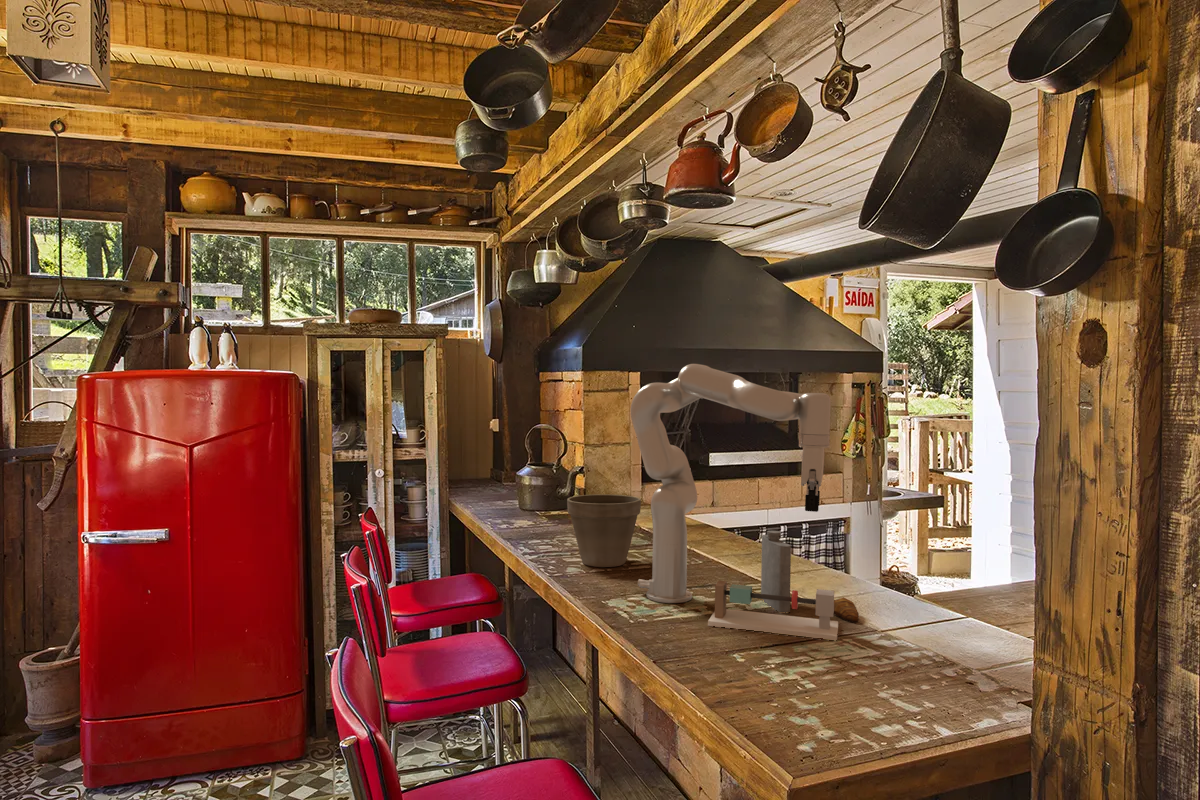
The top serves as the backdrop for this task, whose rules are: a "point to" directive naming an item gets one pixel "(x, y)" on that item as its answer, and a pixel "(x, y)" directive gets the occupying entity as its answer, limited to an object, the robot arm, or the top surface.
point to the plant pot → (604, 527)
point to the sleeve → (740, 594)
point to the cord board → (778, 622)
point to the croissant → (846, 610)
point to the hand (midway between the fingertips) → (812, 508)
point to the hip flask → (775, 570)
